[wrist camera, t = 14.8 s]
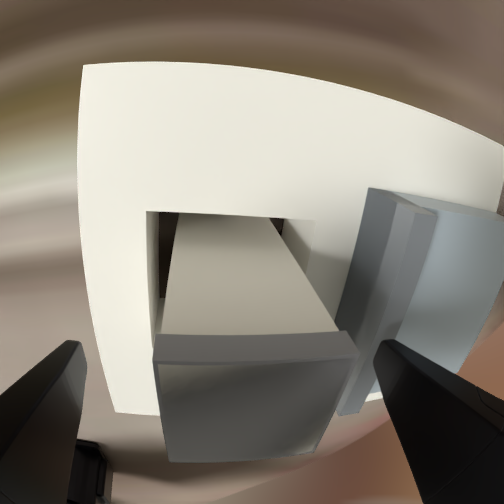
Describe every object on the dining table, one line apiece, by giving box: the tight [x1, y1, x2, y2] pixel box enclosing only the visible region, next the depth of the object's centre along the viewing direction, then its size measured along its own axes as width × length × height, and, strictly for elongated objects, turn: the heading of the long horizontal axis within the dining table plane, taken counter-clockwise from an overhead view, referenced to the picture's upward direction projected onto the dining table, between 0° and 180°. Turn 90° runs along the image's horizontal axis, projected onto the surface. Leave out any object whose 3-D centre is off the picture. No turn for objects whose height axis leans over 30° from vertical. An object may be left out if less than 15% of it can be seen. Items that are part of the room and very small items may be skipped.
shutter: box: [334, 187, 504, 416], centre depth 12 cm, size 8×9×3 cm
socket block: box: [77, 62, 504, 416], centre depth 15 cm, size 19×16×4 cm
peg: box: [152, 212, 360, 463], centre depth 11 cm, size 4×4×10 cm
